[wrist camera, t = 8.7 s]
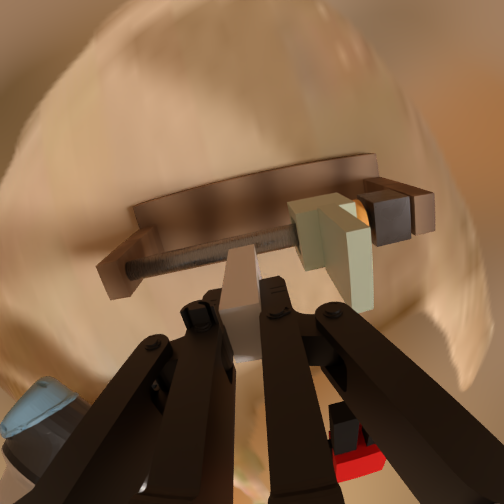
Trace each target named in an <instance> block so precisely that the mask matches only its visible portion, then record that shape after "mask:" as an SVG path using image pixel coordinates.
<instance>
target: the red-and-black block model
mask: <svg viewBox="0 0 504 504" xmlns="http://www.w3.org/2000/svg"><path fill="white" fill-rule="evenodd" d="M329 420H330V431H329V440H328V444H329V448H330V452H331V457H332V461H333V465H334V470H335V474H336V478H337V482H338V483H339V482H343V481H347V480H351V479H354V478H358V477H361V476H364V475H367V474H370V473H373V472H377V471H380V470H382V468H383V466H384V464H385V461H386V457H385V456H384V455H383V453H382V452H381V451H380V449H379V448H378V447H377V445H376V444H375V443H374V441H373V440H372V438H371V437H370V436H369V434H368V433H367V432H366V430H365V429H364V428H363V426H362V425H361V424H360V422H359V421H358V419H357V418H356V417H355V415H354V414H353V413H352V411H351V410H350V408H349V407H348V406H347V404H346V403H345V402H344V401H342V402H339V403H335V404H331V405H329Z"/></svg>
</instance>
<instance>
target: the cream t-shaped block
mask: <svg viewBox="0 0 504 504" xmlns="http://www.w3.org/2000/svg"><path fill="white" fill-rule="evenodd" d="M287 205H288V210H289V215H290V221H291V224H294V223H296V227H297V233H298V239H299V244H300V245H299V246H295V248H296V252H297V254H298V256H299V258H300V261H301V263H302V265H303V267H304V270H305V271H310V270H314V269H319V268H323V267H325V268H326V271H327V273H328V274H329V276H330V278H331V279H332V281H333V283H334V284H335V286H336V288H337V289H338V291H339V293H340V295H341V296H342V298H343V300H344V301H345V303H346V304H347V305H349V306H350V307H351V308H352V309H353V310H355V311H356V312H357V313H361V312H365V311H368V310H372V309H374V294H373V259H372V242H371V229H370V227H369V226H368V225H366V224H365V223H364V222H362V221H361V220H359V219H358V218H357V214H356V205H355V202H354V201H352V200H350V199H348V198H346V197H345V196H343V195H341V194H339V193H337V192H336V193H331V194H326V195H320V196H315V197H310V198H305V199H300V200H295V201H290V202H287Z"/></svg>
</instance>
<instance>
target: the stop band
mask: <svg viewBox="0 0 504 504" xmlns="http://www.w3.org/2000/svg"><path fill="white" fill-rule="evenodd" d="M352 201H354V202H355V205H356V214H357V218H358V219H359V220H361V221H362V222H364V223H365V224H366V225H368V226H369V221H368V217H367V213H366V210H365V208H364V206H363V204H362V203H361V202H360V201H359V200H352Z"/></svg>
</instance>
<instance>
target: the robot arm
mask: <svg viewBox="0 0 504 504" xmlns="http://www.w3.org/2000/svg"><path fill="white" fill-rule="evenodd" d="M180 313H181V316H182V318H183V321H184V323H185V326H186V328H187V330H186V334H185V336H183V337H181V338H179V339H176V340H173V341H169V339H168V337H167V336H166V335H163V334H155V335H152V336H149V337H147V338H146V339H144V340H143V341H142V342H141V343H140V344H139V345H138V346H137V348H136V349H135V350H134V351H133V353H132V354H131V355H130V357H129V358H128V359H127V360H126V362H125V363H124V364H123V365H122V367H121V368H120V369H119V371H118V372H117V373H116V375H115V376H114V377H113V378H112V380H111V381H110V382H109V384H108V385H107V386H106V388H105V389H104V390H103V392H102V393H101V394H100V396H99V397H98V398H97V400H96V401H95V402H94V404H93V405H91V404H89V403H88V402H87V401H85V400H84V399H83V398H81V397H80V396H79V394H78V393H77V392H73V391H72V390H70V389H69V388H67V387H66V386H65V385H63V384H62V383H61V382H59V381H58V380H57V379H55V378H53V377H50V376H45V377H42V378H40V379H39V380H38V381H36V382H35V383H34V384H33V385H32V386H31V387H30V388H29V389H28V390H27V391H26V392H25V393H24V395H23V396H22V397H21V398H20V399H19V400H18V401H17V402H16V404H15V405H14V406H13V407H12V408H11V410H10V411H9V412H8V414H7V415H6V416H5V417H4V419H3V421H2V422H1V424H0V434H1V436H2V437H3V438H5V439H6V441H5V443H4V445H3V446H2V449H1V451H2V454H3V457H4V459H5V462H6V464H7V467H6V469H5V471H4V474H3V476H2V478H1V480H0V504H233V473H234V427H235V391H236V369H235V366H234V364H233V355H234V358H235V361H236V363H241V362H247V361H253V360H259V359H262V366H263V381H264V395H265V410H266V425H267V441H268V456H269V471H270V485H271V486H270V487H271V492H270V496H269V499H268V504H345V503H344V498H343V494H342V491H341V488H340V486H339V484H338V482H337V478H336V474H335V470H334V465H333V461H332V457H331V452H330V448H329V444H328V440H327V435H326V432H325V427H324V423H323V419H322V415H321V411H320V407H319V403H318V399H317V395H316V391H315V387H314V383H313V379H312V375H311V371H310V367H309V366H320V367H321V370H322V371H323V373H324V374H325V375H326V377H327V378H328V380H329V381H330V382H331V384H332V385H333V386H334V388H335V389H336V391H337V392H338V393H339V395H340V396H341V397H342V399H343V400H344V402H345V403H346V404H347V406H348V407H349V408H350V410H351V411H352V413H353V414H354V415H355V417H356V418H357V419H358V421H359V422H360V424H361V425H362V426H363V428H364V429H365V430H366V432H367V433H368V434H369V436H370V437H371V438H372V440H373V441H374V443H375V444H376V445H377V447H378V448H379V449H380V451H381V452H382V453H383V455H384V456H385V457H386V459H387V460H388V461H389V463H390V464H391V465H392V467H393V468H394V469H395V471H396V472H397V473H398V475H399V476H400V477H401V479H402V480H403V481H404V483H405V484H406V485H407V486H408V488H409V489H410V490H411V492H412V493H413V495H414V496H415V497H416V498H417V500H418V501H419V502H420V504H504V445H503V444H502V443H501V442H500V441H499V440H498V439H497V438H496V437H495V436H494V435H493V434H491V433H490V431H488V430H487V429H486V428H485V427H484V426H483V425H482V424H481V423H480V422H479V421H478V420H477V419H476V418H475V417H474V416H472V415H471V414H470V413H469V412H468V411H467V410H466V409H465V408H464V407H463V406H462V405H461V404H460V403H459V402H457V401H456V400H455V399H454V398H453V397H452V396H451V395H450V394H449V393H448V392H447V391H445V390H444V389H443V388H442V387H441V386H440V385H439V384H438V383H437V382H436V381H434V380H433V379H432V378H431V377H430V376H429V375H428V374H427V373H426V372H424V371H423V370H422V369H421V368H420V367H419V366H418V365H416V364H415V363H414V362H413V361H412V360H411V359H410V358H409V357H407V356H406V355H405V354H404V353H403V352H402V351H400V349H398V348H397V347H396V346H395V345H394V344H393V343H391V342H390V341H389V340H388V339H387V338H386V337H385V336H384V335H382V334H381V333H380V332H379V331H378V330H377V329H376V328H374V327H373V326H372V325H371V324H370V323H369V322H367V321H366V320H365V319H364V318H363V317H362V316H360V315H359V314H358V313H357V312H356V311H355V310H353V309H352V308H351V307H350V306H349V305H347V304H345V303H342V302H329V303H325V304H323V305H321V306H319V307H318V308H317V309H316V311H315V314H302V313H299V312H296V311H295V310H294V309H293V308H292V305H291V301H290V298H289V294H288V291H287V287H286V283H285V280H284V279H283V278H281V277H280V276H275V277H270V278H266V279H262V277H261V273H260V268H259V264H258V259H257V255H256V251H255V246H254V244H252V245H247V246H242V247H238V248H233V249H229V251H228V256H227V262H226V268H225V274H224V280H223V286H222V288H219V289H213V290H209V291H208V292H207V293H206V294H205V295H204V296H203V299H202V300H197V301H194V302H191V303H189V304H187V305H186V306H184V307H183V308H182V309H181V311H180Z"/></svg>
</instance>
